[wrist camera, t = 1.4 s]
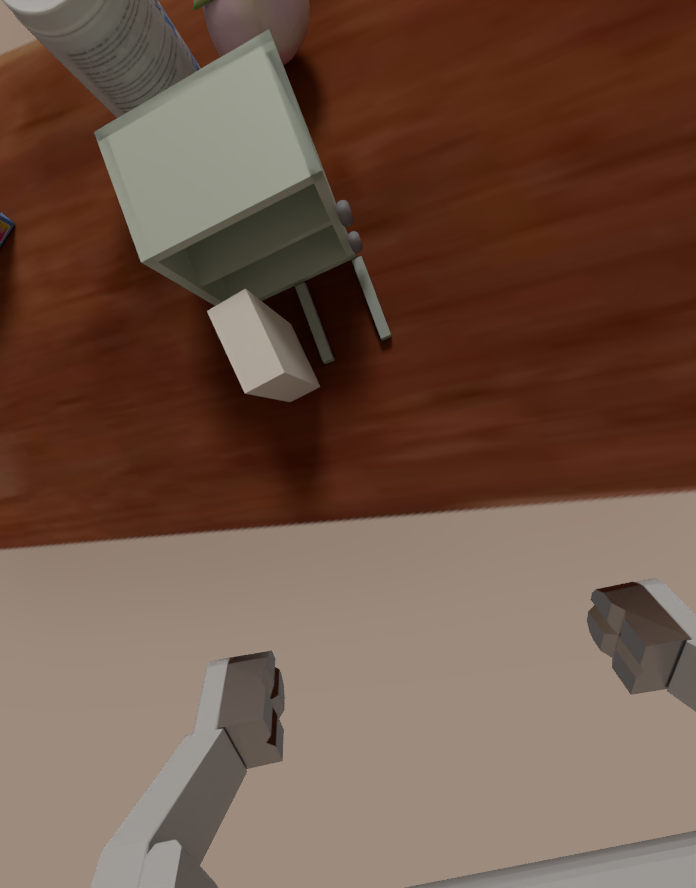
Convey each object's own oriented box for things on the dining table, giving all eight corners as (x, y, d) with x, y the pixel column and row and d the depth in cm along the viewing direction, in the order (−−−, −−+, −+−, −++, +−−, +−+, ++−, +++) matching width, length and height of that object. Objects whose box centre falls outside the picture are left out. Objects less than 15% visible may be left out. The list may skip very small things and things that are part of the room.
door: (320, 386, 42) (284, 372, 31) (285, 404, 43) (238, 396, 32) (291, 324, 42) (245, 288, 31) (257, 343, 43) (200, 314, 32)
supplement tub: (223, 69, 42) (120, -116, 28) (192, 162, 43) (77, 30, 29) (143, 46, 44) (5, -141, 29) (115, 137, 45) (-32, -2, 30)
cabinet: (395, 335, 40) (381, 287, 27) (258, 391, 43) (181, 375, 29) (329, 158, 41) (281, 21, 27) (198, 225, 44) (94, 131, 30)
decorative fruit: (301, -6, 41) (262, -143, 31) (332, 70, 40) (303, -45, 31) (219, 47, 42) (157, -68, 33) (248, 120, 42) (195, 26, 32)
